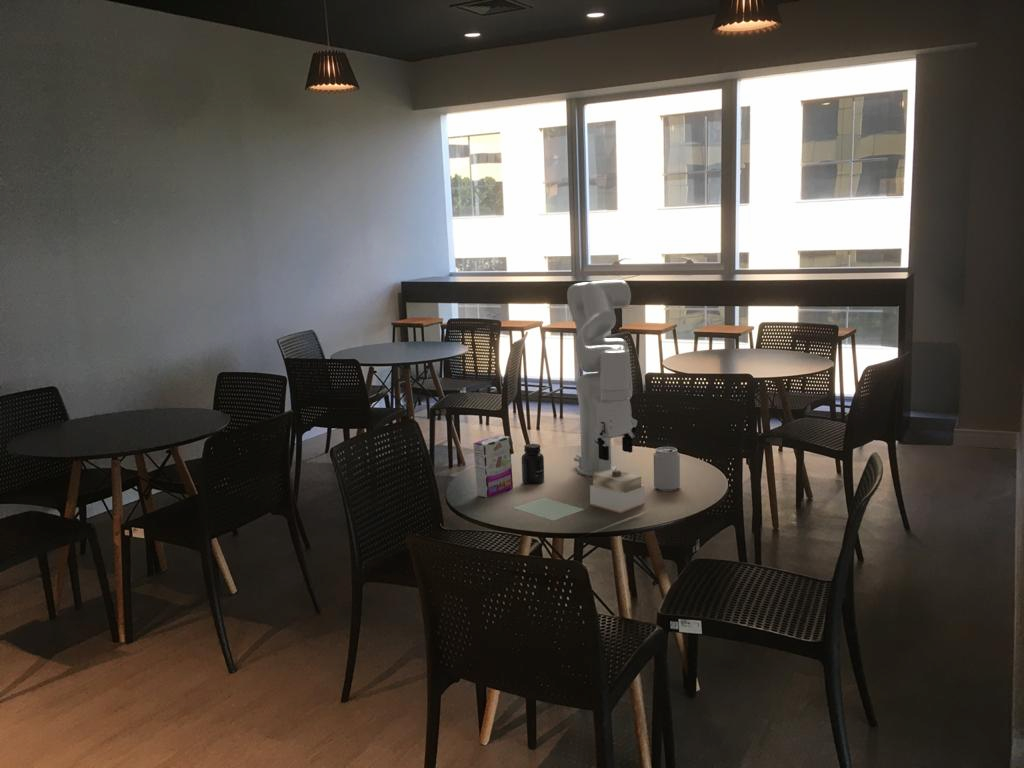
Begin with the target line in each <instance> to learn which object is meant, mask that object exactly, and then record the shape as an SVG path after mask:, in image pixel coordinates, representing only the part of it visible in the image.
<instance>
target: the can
mask: <svg viewBox="0 0 1024 768" xmlns="http://www.w3.org/2000/svg"><path fill="white" fill-rule="evenodd" d="M680 459H681V458H680V453H679V452H678V449H677V448H676V447H673V446H661V447H657V448H655V452H654V453H653V486H654V488H656V490H658V489H659V490H658V491H660V490H662V491H661V492H674V491H676V490H678V489H679V488H680V486H681V477H680V476H681V471H680V470H681V469H680V468H681V462H680V461H681V460H680ZM673 490H674V491H673Z"/></svg>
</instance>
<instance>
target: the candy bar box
mask: <svg viewBox="0 0 1024 768" xmlns="http://www.w3.org/2000/svg"><path fill="white" fill-rule="evenodd" d="M511 449H512V448H511V436H508V435H502V434H499V435H495V436H491V437H489V438H485V439H483V440H478V441H475V442H473V457H474V467H475V469H474V470H475V482H476V483H475V484H476V495H477V497H480V498H485V499H486V498H489V497H493V496H495V495H499V494H502V493H505V492H509V491H512V490H513V489H514V484H513V483H514V481H513V466H512V451H511Z"/></svg>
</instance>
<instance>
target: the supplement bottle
mask: <svg viewBox="0 0 1024 768" xmlns="http://www.w3.org/2000/svg"><path fill="white" fill-rule="evenodd" d="M523 451H524V453H523V454H522V456H521V479H522V480H521V482H522V484H523V485H525V486H528V485H529V486H532V485H533V486H537V485H541V484H544V482H545V460H544V459H545V458H544V454H543V453H542V452H541V444H538V443H528V444H525V445H524V448H523Z"/></svg>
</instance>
